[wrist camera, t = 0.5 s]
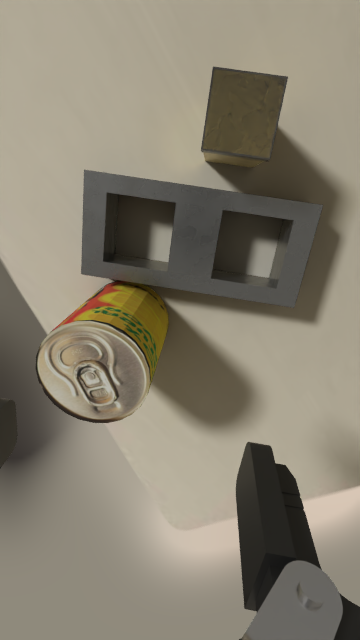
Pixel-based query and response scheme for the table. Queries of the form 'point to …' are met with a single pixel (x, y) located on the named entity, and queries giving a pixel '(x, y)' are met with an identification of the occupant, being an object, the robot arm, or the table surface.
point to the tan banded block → (242, 116)
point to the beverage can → (104, 353)
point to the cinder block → (195, 239)
